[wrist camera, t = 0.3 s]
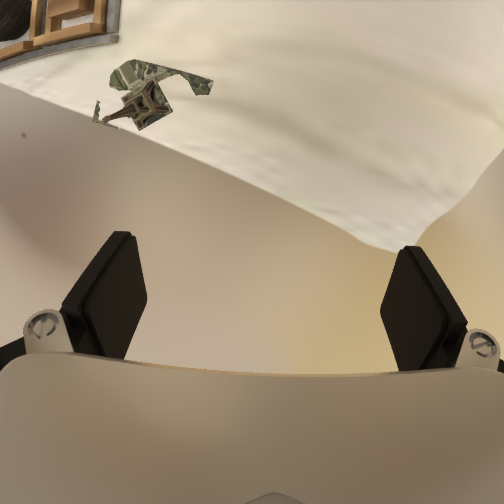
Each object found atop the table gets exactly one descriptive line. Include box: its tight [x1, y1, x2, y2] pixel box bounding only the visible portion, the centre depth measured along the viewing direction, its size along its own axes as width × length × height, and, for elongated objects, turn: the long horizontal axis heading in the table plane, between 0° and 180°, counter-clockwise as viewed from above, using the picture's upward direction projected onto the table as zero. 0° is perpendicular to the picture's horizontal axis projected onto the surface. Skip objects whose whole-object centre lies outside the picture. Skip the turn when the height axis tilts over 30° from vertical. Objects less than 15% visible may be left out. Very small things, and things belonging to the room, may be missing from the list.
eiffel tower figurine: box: [93, 59, 213, 134], centre depth 31 cm, size 15×10×13 cm
